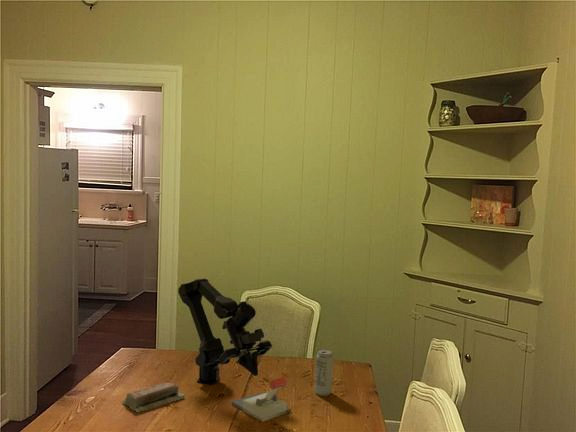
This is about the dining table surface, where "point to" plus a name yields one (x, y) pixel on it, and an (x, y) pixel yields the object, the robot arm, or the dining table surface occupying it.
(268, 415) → the switch panel
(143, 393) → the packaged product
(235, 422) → the dining table surface
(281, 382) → the switch lever
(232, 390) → the dining table surface
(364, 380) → the dining table surface
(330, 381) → the energy drink can
